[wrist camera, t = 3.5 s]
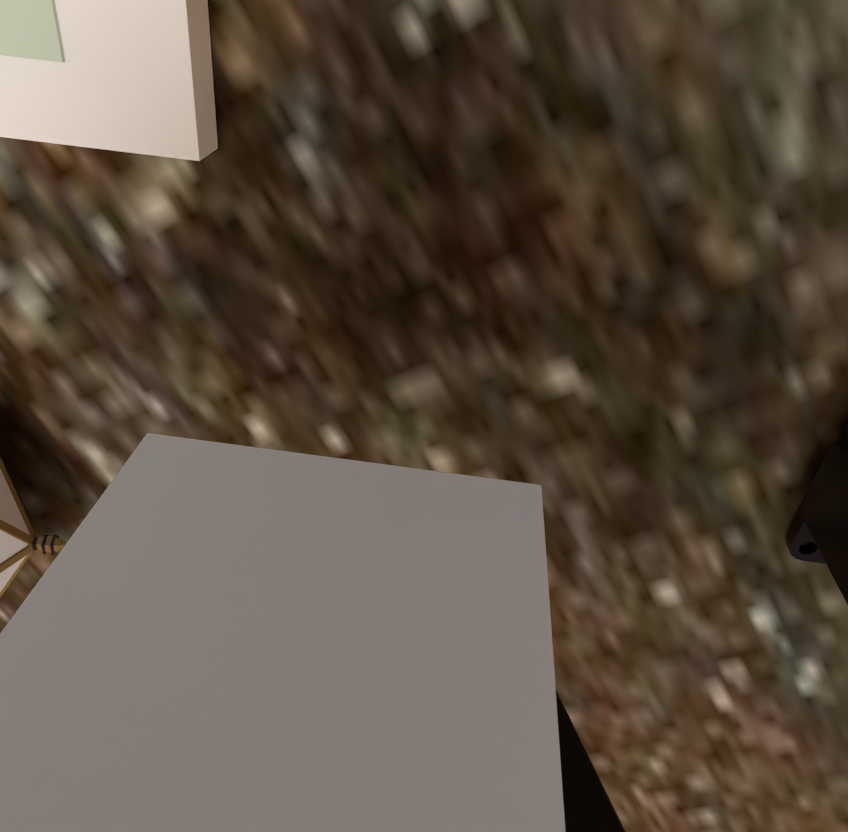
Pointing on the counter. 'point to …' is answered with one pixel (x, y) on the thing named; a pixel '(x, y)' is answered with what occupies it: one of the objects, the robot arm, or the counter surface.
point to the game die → (17, 533)
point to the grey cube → (286, 653)
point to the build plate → (109, 75)
